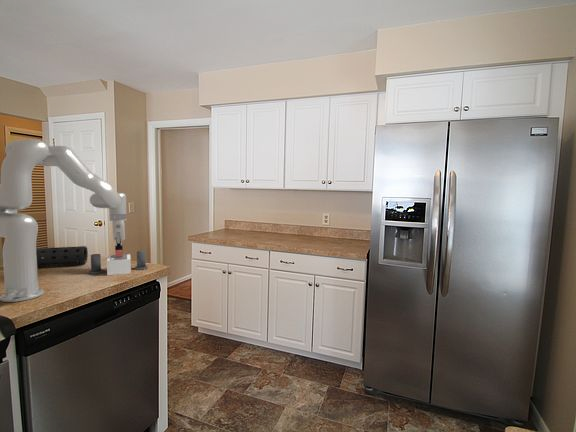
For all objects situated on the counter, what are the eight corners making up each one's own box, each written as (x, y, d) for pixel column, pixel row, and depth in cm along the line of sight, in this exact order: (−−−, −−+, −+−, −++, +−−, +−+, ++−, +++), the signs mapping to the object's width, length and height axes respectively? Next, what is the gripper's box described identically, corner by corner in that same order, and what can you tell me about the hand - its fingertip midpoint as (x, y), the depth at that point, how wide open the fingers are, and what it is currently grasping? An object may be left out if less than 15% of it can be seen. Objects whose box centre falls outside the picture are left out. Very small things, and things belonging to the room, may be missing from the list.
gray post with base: (102, 273, 148) (102, 255, 147) (88, 275, 145) (87, 256, 145) (103, 270, 154) (103, 253, 153) (89, 272, 151) (88, 254, 150)
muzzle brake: (83, 266, 160) (83, 247, 159) (16, 271, 150) (15, 250, 149) (88, 262, 169) (87, 244, 168) (25, 266, 159) (24, 246, 158)
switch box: (130, 273, 150) (130, 258, 150) (107, 275, 146) (106, 260, 145) (130, 267, 161) (130, 253, 160) (108, 269, 156) (108, 255, 156)
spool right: (148, 269, 158) (147, 252, 157) (135, 270, 155) (134, 253, 154) (147, 266, 163) (147, 250, 162) (134, 267, 160) (134, 251, 159)
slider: (122, 256, 152) (122, 250, 152) (115, 257, 150) (115, 251, 150) (122, 255, 154) (122, 249, 154) (115, 256, 153) (115, 250, 152)
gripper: (126, 218, 148) (127, 255, 150) (126, 216, 162) (127, 250, 163) (108, 219, 145) (109, 257, 147) (110, 216, 158) (111, 251, 160)
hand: (119, 253), depth 155 cm, fingers closed
